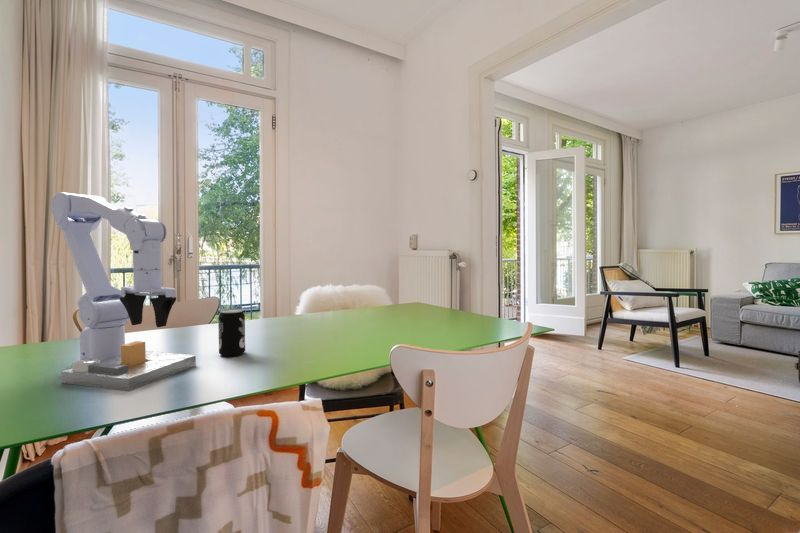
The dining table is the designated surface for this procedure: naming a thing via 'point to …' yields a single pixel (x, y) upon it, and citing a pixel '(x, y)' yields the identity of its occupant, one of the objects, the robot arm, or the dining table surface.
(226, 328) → the beverage can
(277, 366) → the dining table surface
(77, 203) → the robot arm
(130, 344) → the orange rectangular block
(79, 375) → the gray slotted plate
